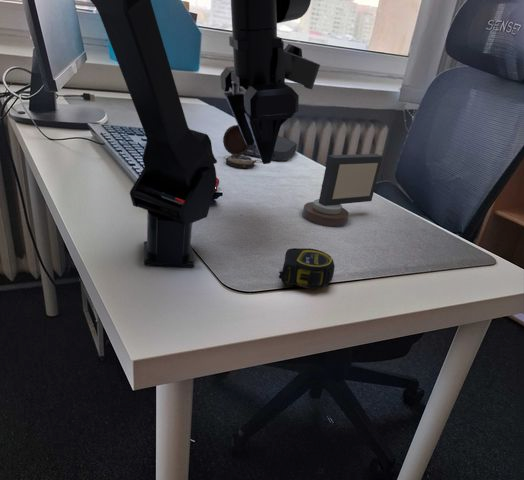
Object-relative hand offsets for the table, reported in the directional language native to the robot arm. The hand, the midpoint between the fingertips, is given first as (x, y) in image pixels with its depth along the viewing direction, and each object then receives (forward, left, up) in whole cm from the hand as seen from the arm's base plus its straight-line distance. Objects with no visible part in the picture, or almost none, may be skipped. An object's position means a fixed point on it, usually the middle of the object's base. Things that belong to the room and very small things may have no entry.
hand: (257, 153), depth 75 cm
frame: (+9, -18, -10) cm, 23 cm away
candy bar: (+12, +7, -12) cm, 18 cm away
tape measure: (-18, -4, -12) cm, 22 cm away
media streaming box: (+50, -12, -12) cm, 53 cm away
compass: (+37, -5, -12) cm, 40 cm away
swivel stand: (+7, -15, -12) cm, 20 cm away
